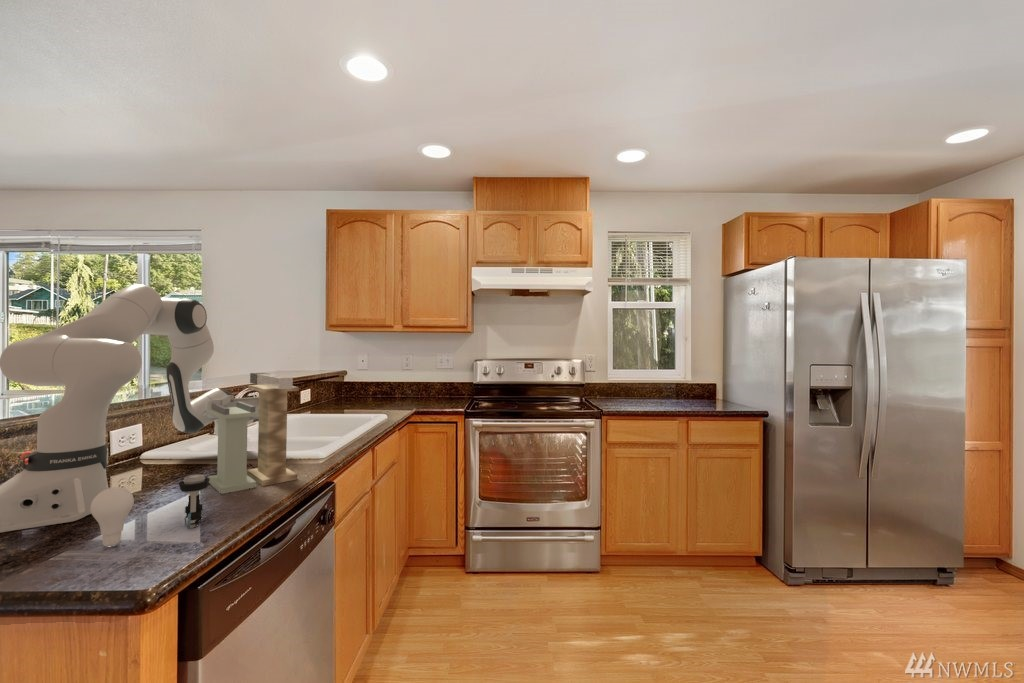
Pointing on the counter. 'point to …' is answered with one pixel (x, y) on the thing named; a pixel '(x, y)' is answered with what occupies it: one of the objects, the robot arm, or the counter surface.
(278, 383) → the aluminium bar
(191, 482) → the push button
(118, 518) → the lightbulb
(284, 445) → the stone pillar pedestal
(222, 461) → the pale green pedestal
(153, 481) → the counter surface
